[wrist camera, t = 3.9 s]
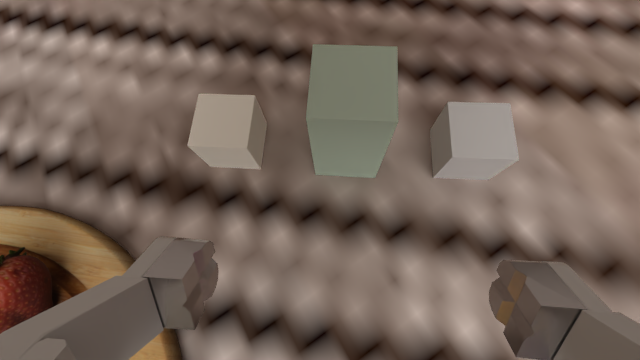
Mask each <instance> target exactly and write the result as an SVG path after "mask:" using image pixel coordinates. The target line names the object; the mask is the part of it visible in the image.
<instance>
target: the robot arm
mask: <svg viewBox="0 0 640 360" xmlns="http://www.w3.org/2000/svg"><path fill="white" fill-rule="evenodd" d="M214 253H215V249H214V244H213V242H211V241H210V240H199V239H187V238H173V237H159V238H156V239H155V240H154V241H153V242H152V244H151V245H150V246H149V247H148V248H147V249H146V250H145V251H144V252H143V253H142V254H141V256H140V257H139V258H138V259H137V260H136V261H135V262H134V263H133V264H132V265H131V267H130V268H129V269H128V270H127V271H126V272H125V273H124V274H123V275H122V276H115V277H113V278H110V279H108V280H106V281H104V282H102V283H100V284H98V285H96V286H94V287H92V288H90V289H88V290H86V291H84V292H82V293H80V294H78V295H76V296H74V297H72V298H70V299H68V300H66V301H64V302H62V303H60V304H58V305H56V306H54V307H52V308H50V309H48V310H46V311H44V312H42V313H40V314H38V315H36V316H34V317H32V318H30V319H28V320H26V321H24V322H22V323H20V324H18V325H16V326H14V327H12V328H10V329H8V330H6V331H4V332H2V333H1V334H0V360H128V359H130V358H131V357H132V356H133V355H134V354H136V353H137V352H138V351H139V350H140V349H142V348H143V347H144V346H145V345H146V344H148V343H149V342H150V341H151V340H152V339H154V338H155V337H156V336H157V335H159V334H160V333H161V332H162V331H163V330H164V329H163V328H167V329H186V330H195V328H196V326H197V325H198V323H199V321H200V319H201V317H202V315H203V313H204V311H205V305H204V301H206V300H207V299H209V298H210V297H211V296H212V295H213V293H214V291H215V288H216V285H217V281H218V265H217V263H216V262H215V261H214V260H213V259H212V256H213V255H214ZM496 271H497V273H498V274H499V276H500V277H499V278H498V279H496V280H495V281H494V282H492V284H491V287H490V290H489V302H490V306H491V310H492V312H493V314H494V316H495V318H496V319H498V320H499V321H500V322H501V323H503V324H504V325H505V329H504V332H503V333H504V335H505V337H506V339H507V341H508V343H509V345H510V346H511V348H512V350H513V352H514V354H515V356H516V357H522V358H531V359H540V360H640V324H639V323H637V322H635V321H634V320H632V319H630V318H628V317H626V316H625V315H623V314H621V313H618V312H612V311H611V310H610V309H609V308H608V307H607V305H606V304H605V303H604V302H603V301H602V300H601V299H600V298H599V297H598V296H597V295H596V294H595V293H594V292H593V291H592V290H591V289H590V288H589V286H588V285H587V284H586V283H585V282H584V281H583V280H582V279H581V278H580V277H579V276H578V275H577V274H576V273H575V272H574V271H573V270H572V269H571V268H570V266H568V265H566V264H565V263H563V262H543V261H542V262H535V261H518V260H502V261H501V262H500V263H499V265H498V268H497V270H496Z"/></svg>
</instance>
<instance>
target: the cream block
mask: <svg viewBox="0 0 640 360" xmlns="http://www.w3.org/2000/svg"><path fill="white" fill-rule="evenodd" d="M266 128H267V122H266V119H265V117H264V115H263V112H262V110H261V108H260V105H259V103H258V101H257V98H256V96H255V95H230V94H199V95H198V100H197V104H196V109H195V113H194V118H193V122H192V127H191V131H190V136H189V140H188V145H187V146H188V147H189V148H190V149H191V150H192V151H194V152H195V153H196V154H197V155H198V156H199V157H200V158H201V159H202V160H203V161H205V162H206V163H207V164H208V165H209V166H210V167H224V168H245V169H261V165H262V158H263V151H264V143H265V136H266Z"/></svg>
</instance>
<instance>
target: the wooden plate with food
mask: <svg viewBox="0 0 640 360" xmlns="http://www.w3.org/2000/svg"><path fill="white" fill-rule="evenodd" d="M134 262H135V260H134V259H133V258H132V257H131V255H130V254H129V253H128V252H127V251H126V250H125V249H124V248H122V247H121V246H120V245H119V244H118V243H116V242H115V241H114V240H113V239H111V238H110V237H108V236H107V235H105V234H104V233H102V232H101V231H99V230H97V229H95V228H93V227H91V226H90V225H88V224H86V223H84V222H82V221H79V220H77V219H74V218H72V217H69V216H66V215H64V214H61V213H58V212H54V211H50V210H46V209H40V208H34V207H24V206H0V334H1V333H2V332H4V331H6V330H8V329H10V328H12V327H14V326H16V325H18V324H20V323H22V322H24V321H26V320H28V319H30V318H32V317H34V316H36V315H38V314H40V313H42V312H44V311H46V310H48V309H50V308H52V307H54V306H56V305H58V304H60V303H62V302H64V301H66V300H68V299H70V298H72V297H74V296H76V295H78V294H80V293H82V292H84V291H86V290H88V289H90V288H92V287H94V286H96V285H98V284H100V283H102V282H104V281H106V280H108V279H110V278H113V277H115V276H122V275H123V274H124V273H125V272H126V271H127V270H128V269H129V268H130V267H131V265H132V264H133V263H134ZM163 329H164V330H163V331H162V332H161V333H160V334H159V335H157V336H156V337H155V338H154V339H152V340H151V341H150V342H149V343H148V344H146V345H145V346H144V347H143V348H142V349H140V350H139V351H138V352H137V353H136V354H134V355H133V356H132V357H131V358H130V359H128V360H182V356H181V351H180V347H179V342H178V338H177V336H176V333H175V330H174V329H167V328H163Z"/></svg>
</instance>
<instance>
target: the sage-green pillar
mask: <svg viewBox="0 0 640 360" xmlns="http://www.w3.org/2000/svg"><path fill="white" fill-rule="evenodd" d="M306 122H307V127H308V133H309V139H310V145H311V151H312V157H313V163H314V169H315V175H327V176H346V177H365V178H375V177H376V175H377V172H378V170H379V167H380V165H381V162H382V160H383V158H384V155H385V153H386V150H387V148H388V145H389V143H390V141H391V138H392V136H393V133H394V131H395V128H396V126H397V124H398V59H397V46H360V45H321V44H313V49H312V60H311V70H310V80H309V91H308V101H307V112H306Z"/></svg>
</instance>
